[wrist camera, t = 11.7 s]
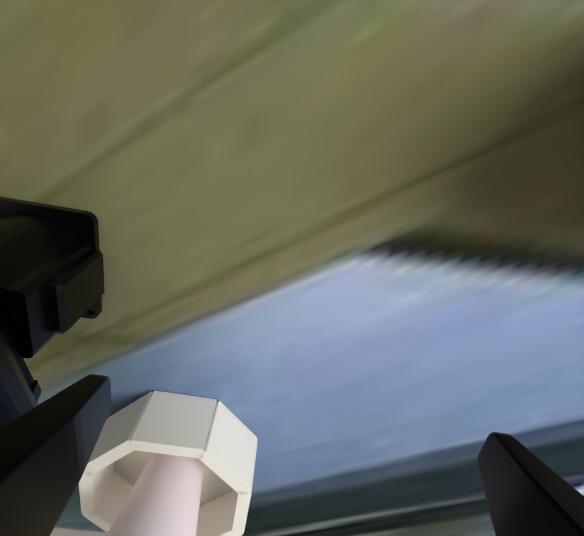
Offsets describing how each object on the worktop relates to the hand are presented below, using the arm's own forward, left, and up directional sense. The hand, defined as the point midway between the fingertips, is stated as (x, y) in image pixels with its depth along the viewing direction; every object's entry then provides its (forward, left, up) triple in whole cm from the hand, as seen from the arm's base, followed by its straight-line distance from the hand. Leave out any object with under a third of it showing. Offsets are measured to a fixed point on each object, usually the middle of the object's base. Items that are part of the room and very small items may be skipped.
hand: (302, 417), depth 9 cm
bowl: (-6, -18, -13) cm, 23 cm away
